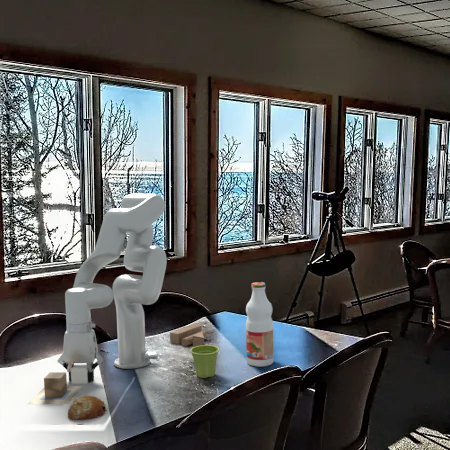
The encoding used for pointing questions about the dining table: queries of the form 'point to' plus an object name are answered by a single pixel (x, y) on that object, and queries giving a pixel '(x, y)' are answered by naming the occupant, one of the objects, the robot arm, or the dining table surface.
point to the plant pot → (205, 360)
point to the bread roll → (86, 408)
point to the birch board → (64, 400)
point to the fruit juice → (259, 328)
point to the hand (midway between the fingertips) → (81, 382)
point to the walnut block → (55, 385)
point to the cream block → (79, 373)
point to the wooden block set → (188, 336)
